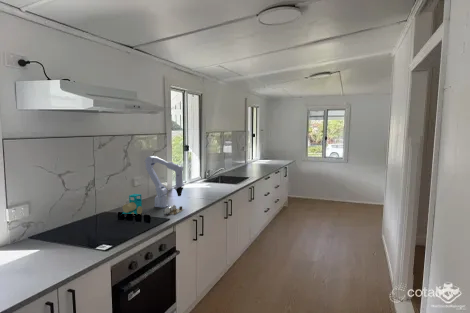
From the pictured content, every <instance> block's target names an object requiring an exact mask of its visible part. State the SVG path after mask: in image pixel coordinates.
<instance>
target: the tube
mask: <svg viewBox="0 0 470 313" xmlns="http://www.w3.org/2000/svg"><path fill="white" fill-rule="evenodd" d="M174 209H177V206H176V205H175V204H173V205H170V206H168V207H167V208H165V209H163V210H162V212H163V215H169V214H168V213H170V212H172V211H173V210H174Z"/></svg>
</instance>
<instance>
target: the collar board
mask: <svg viewBox="0 0 470 313" xmlns="http://www.w3.org/2000/svg"><path fill="white" fill-rule="evenodd" d="M182 211H184V208H183V206H182V205H181V206H179V208H176V209H174V210H173V211H172V212H170V213H168V214H167V215H177V214H178V213H180V212H182Z"/></svg>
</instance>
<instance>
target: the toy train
mask: <svg viewBox="0 0 470 313" xmlns="http://www.w3.org/2000/svg"><path fill="white" fill-rule="evenodd" d="M138 197H139V198H138ZM128 198H129V199H125V203H124V204H123V205H122V210H123V212H122V213H121V215H122V214H136V215H138V214H140V215H142V213H143V205H142V194H140V193H132V194H129V196H128ZM131 198H133V199H131Z"/></svg>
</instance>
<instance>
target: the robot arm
mask: <svg viewBox="0 0 470 313" xmlns="http://www.w3.org/2000/svg"><path fill="white" fill-rule="evenodd" d="M144 163H145V170H146V172H147V174H148V175H149V176H150V177H149V178H150V179H151V181H152V182H153V184H154V186H155V192H156V196H155V197H154V207H155V208H162V209H164V208H165V209H166V207H167V208H168V207H170V206H169V204H168V203H167V202H168V201H167V199H168V198H167V197H168V196H167V194H168V188H167V187H166V186H165V185H164V184H162V182H161V180H160V178H159V176H158V174H157V173H156V171H155V169H154V165H155V164H156V163H157V164H161V165H164V166H165V167H166V168H167V169H169V170H171V171H173V172H174V173H175V186H173V189H174V190H175V191H176V194H177V197H182V193H183V192H182V191H183V190H184V187H185V183H183V181H184V180H183V176H184V175H183V171H184V167H183V165H181V164H178V163H175V162H174V161H167V160H165V159H162V158H160V157H159V156H156V155H150V156H147V157H146V158H145V159H144Z"/></svg>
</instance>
